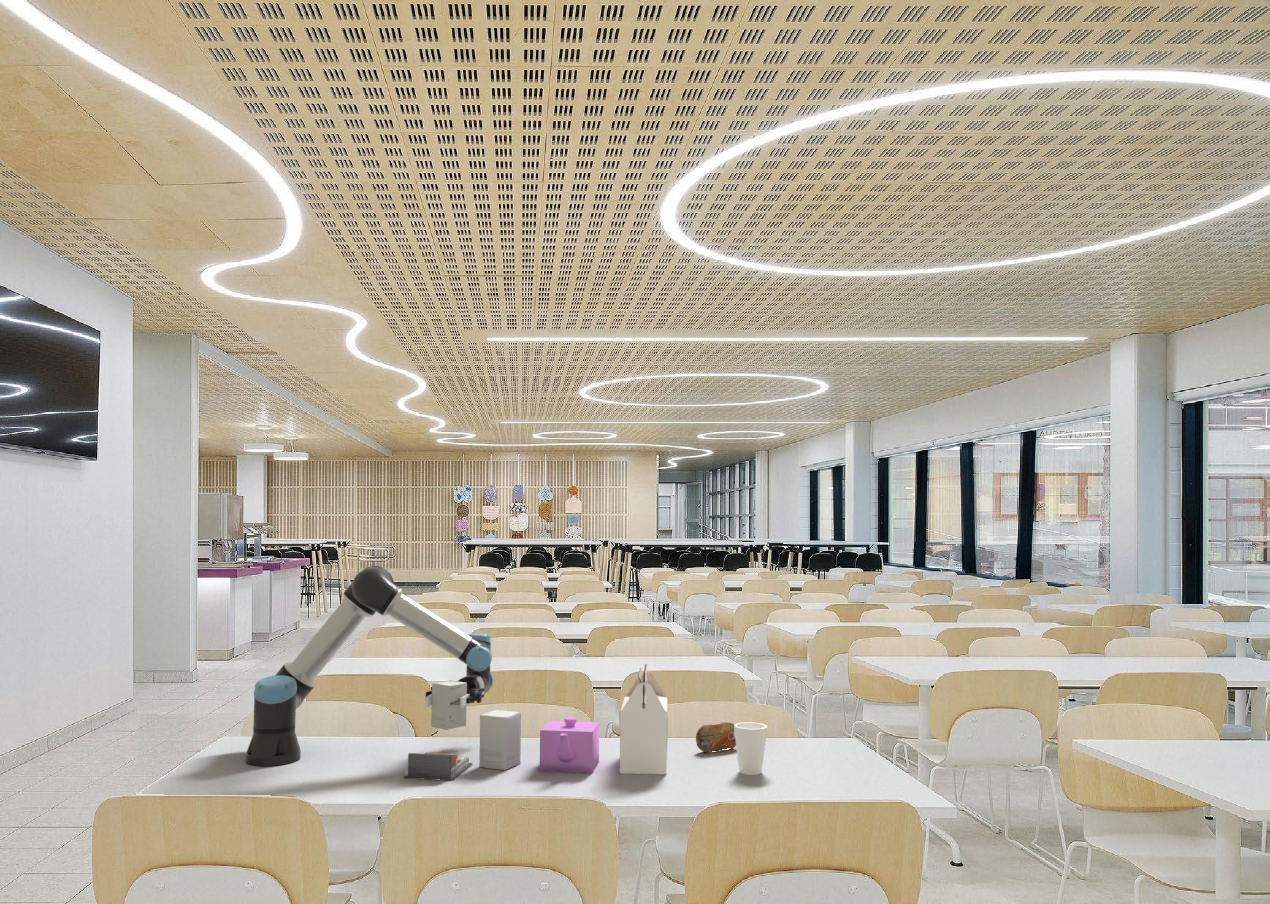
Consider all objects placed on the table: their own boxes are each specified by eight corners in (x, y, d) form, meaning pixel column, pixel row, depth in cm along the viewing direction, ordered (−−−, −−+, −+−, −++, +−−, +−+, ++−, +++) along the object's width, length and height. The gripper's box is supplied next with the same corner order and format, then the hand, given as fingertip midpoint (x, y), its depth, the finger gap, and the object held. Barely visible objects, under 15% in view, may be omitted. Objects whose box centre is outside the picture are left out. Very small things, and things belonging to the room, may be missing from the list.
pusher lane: (404, 778, 268) (404, 753, 269) (426, 762, 285) (426, 739, 286) (453, 780, 266) (453, 755, 267) (472, 764, 283) (472, 741, 283)
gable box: (623, 754, 297) (624, 661, 299) (667, 755, 297) (667, 662, 298) (619, 774, 275) (620, 673, 277) (666, 775, 274) (667, 674, 276)
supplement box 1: (447, 730, 278) (448, 685, 279) (430, 727, 283) (431, 682, 283) (467, 726, 284) (467, 682, 285) (449, 722, 289) (450, 679, 289)
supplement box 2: (521, 763, 285) (522, 711, 286) (505, 770, 277) (506, 717, 278) (495, 760, 289) (496, 708, 290) (478, 767, 281) (479, 714, 282)
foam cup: (745, 777, 272) (745, 730, 273) (727, 770, 280) (727, 724, 281) (773, 774, 276) (773, 727, 277) (755, 766, 285) (755, 721, 285)
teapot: (534, 778, 269) (535, 727, 270) (551, 756, 294) (551, 709, 295) (588, 780, 268) (589, 729, 269) (601, 758, 293) (601, 711, 293)
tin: (699, 754, 298) (700, 726, 299) (694, 752, 301) (694, 724, 302) (739, 749, 306) (739, 721, 307) (733, 747, 309) (733, 720, 309)
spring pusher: (424, 767, 277) (424, 753, 277) (425, 766, 278) (426, 752, 279) (456, 768, 276) (456, 755, 276) (457, 767, 277) (457, 754, 277)
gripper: (503, 701, 300) (481, 716, 278) (433, 699, 303) (406, 714, 281) (503, 677, 300) (481, 690, 278) (434, 675, 303) (407, 687, 281)
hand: (444, 702), depth 279 cm, fingers closed on supplement box 1, 10 cm apart
